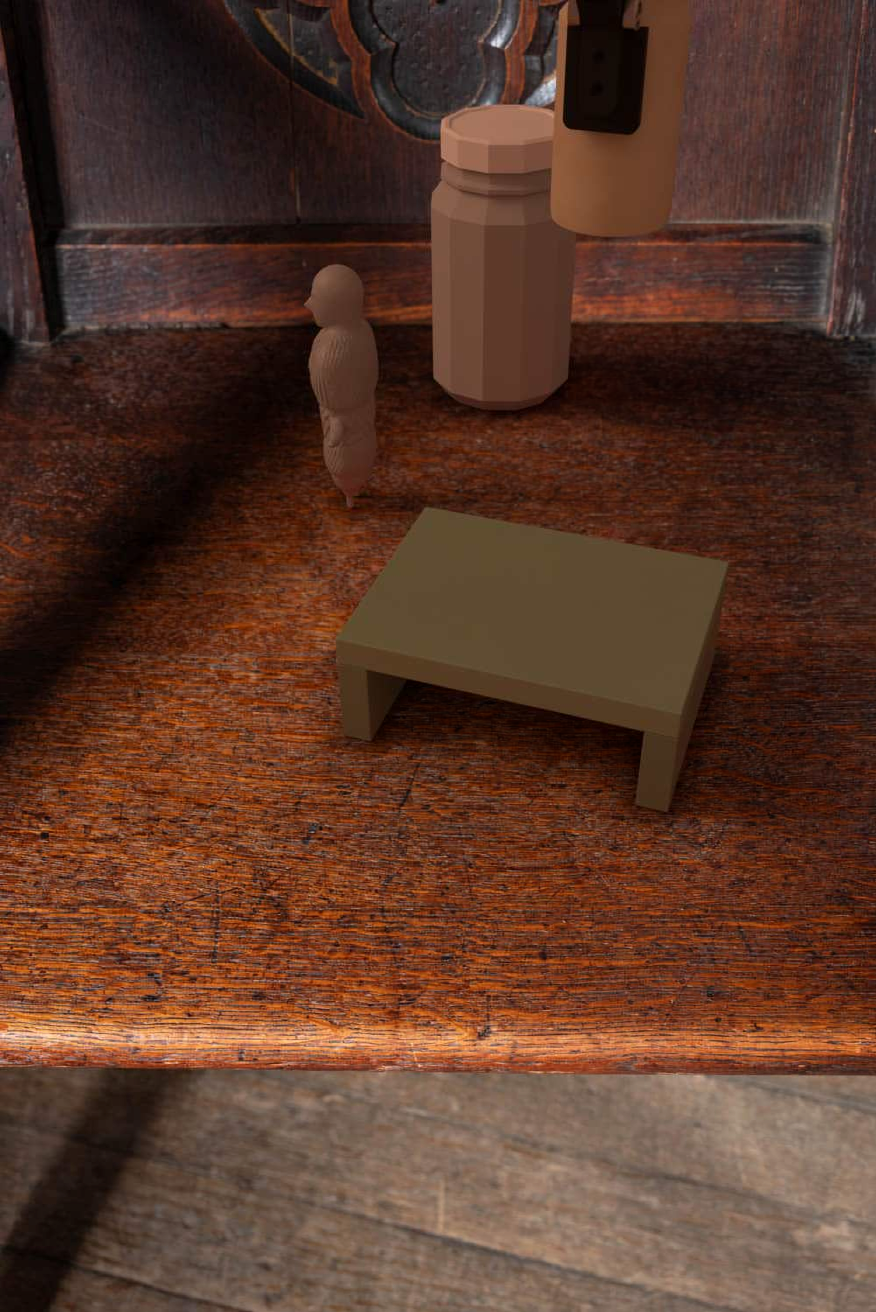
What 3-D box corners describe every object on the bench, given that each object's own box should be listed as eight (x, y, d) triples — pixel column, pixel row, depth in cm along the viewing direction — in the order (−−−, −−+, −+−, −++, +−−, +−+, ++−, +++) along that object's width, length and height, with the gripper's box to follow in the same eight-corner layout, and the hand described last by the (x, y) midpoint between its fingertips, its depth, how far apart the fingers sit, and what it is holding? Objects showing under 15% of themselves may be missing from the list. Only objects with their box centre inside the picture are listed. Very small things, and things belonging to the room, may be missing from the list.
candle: (622, 248, 55) (643, -7, 48) (525, 218, 58) (533, -26, 51) (694, 215, 58) (723, -29, 51) (598, 188, 61) (615, -45, 54)
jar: (586, 407, 87) (605, 138, 76) (449, 424, 86) (448, 152, 74) (545, 348, 95) (557, 95, 83) (418, 362, 93) (413, 106, 82)
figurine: (340, 460, 82) (323, 233, 73) (399, 466, 81) (390, 237, 72) (298, 539, 75) (274, 298, 65) (362, 546, 74) (347, 303, 65)
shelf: (714, 656, 66) (729, 561, 62) (667, 813, 57) (681, 713, 53) (427, 597, 70) (425, 505, 66) (342, 735, 61) (334, 638, 57)
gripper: (724, -461, 36) (660, 180, 47) (806, -435, 49) (740, 68, 60) (477, -452, 38) (472, 160, 49) (617, -429, 51) (588, 55, 62)
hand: (619, 105), depth 55 cm, fingers closed on candle, 5 cm apart
